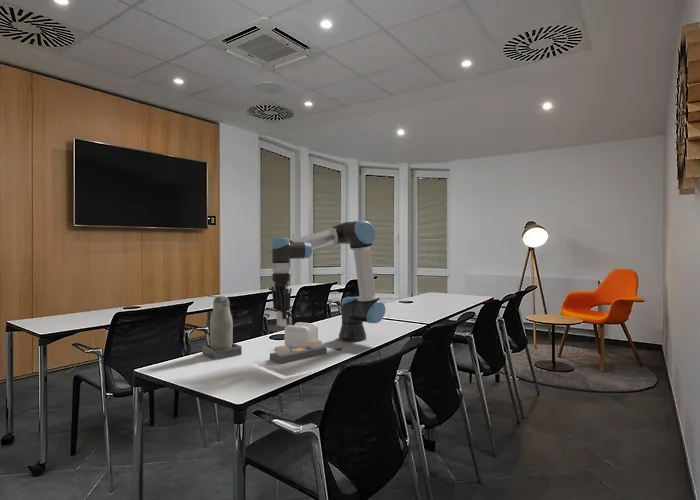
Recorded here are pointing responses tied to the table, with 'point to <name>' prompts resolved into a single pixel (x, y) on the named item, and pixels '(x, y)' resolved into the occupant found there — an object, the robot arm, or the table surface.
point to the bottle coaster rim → (221, 352)
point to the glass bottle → (221, 324)
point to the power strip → (299, 354)
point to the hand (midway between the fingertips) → (281, 325)
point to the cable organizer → (300, 334)
